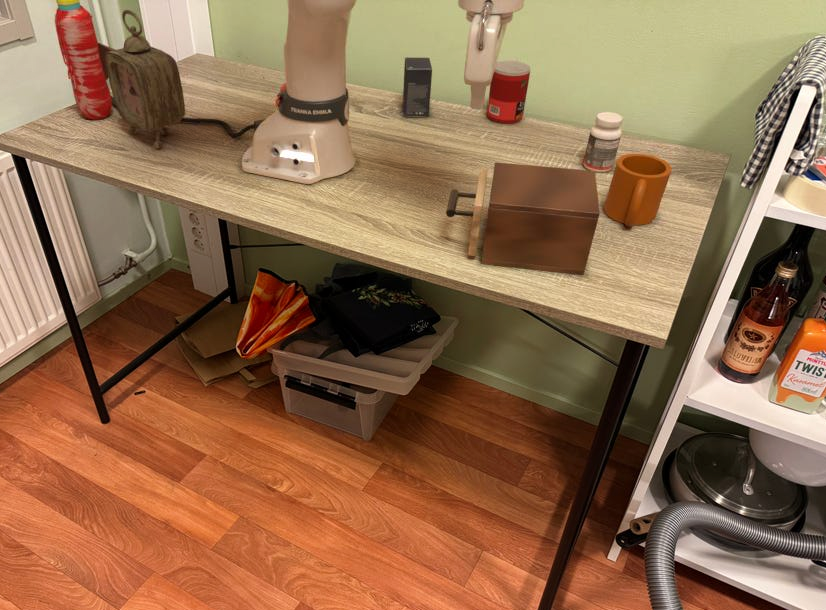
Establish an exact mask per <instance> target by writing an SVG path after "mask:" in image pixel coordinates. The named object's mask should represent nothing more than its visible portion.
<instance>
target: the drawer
mask: <svg viewBox="0 0 826 610" xmlns="http://www.w3.org/2000/svg"><path fill="white" fill-rule="evenodd" d="M488 170H489V169H488V168H483V167H482V168H480V169H479V175H478V181H477V186H476V193H472V192H462V191H459V189H456V188H453V189H451V191H450V193H449V199H448V202H447V207H446V212H445V215H446V217H448V218H453V217H455V216H461V217H471V218H472V222H471V228H470V229H471V230H470V237H469V244H468V245H469V246H468V253H467V254H468V256H471V257H476V256H477V251H478V243H479V235H480V229H481V222H482V215H483V209H484V208H483V207H484V199H485V192H486V186H487V185H486V184H487V178H488ZM459 198H466V199H474V205H473V211H470V210H469V211H468V210H460V209H459V210H458V209H457V206H458V201H459Z"/></svg>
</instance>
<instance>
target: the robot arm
mask: <svg viewBox="0 0 826 610" xmlns="http://www.w3.org/2000/svg"><path fill="white" fill-rule="evenodd" d="M286 2H287V9H288V10H287V12H288V13H287V15H288V16H287V27H286V28H287V29H286V30H287V31H286V38H285V42H284V44H283V58H284V73H285V83H283V84H282V86H281V87H280V89H279V92H278V93H277V95H276V99H275V101H274V102H275V107H276V108H277V110H275V111H274V112H273V113H272V114H271V115H269V116H268V117H266V118H263V119H258V120H253V122H252V123H251V124H248V125H246V126H244V127H243V128H242V129H240V130H239V131H238V132H234V131H233V128H232V127H231V125H230V124H229V123H228V122H227V121H225V120H222V119H217V118H201V117H200V118H198V117H197V118H196V117H183V118H182V120H181V121H180V122H179V123H188V124H189V123H192V124H215V125H220V126H223V127H225V129H226V130H227V132H228V134H229V135H230V136H231V137H232V138H240V137H242V136H243V135H245V134H246V133H247V132H248V131H250V130H254V131H253V132H254V134H253V136H252V141H251V145H250V146H249V147H248V148H247V150H246V151H245V152H244V153H243V155H242V158H241V169H242V171H243V172H246V173H250V174H255V175H259V176H264V177H268V178H269V177H270V178H274V179H280V180H284V181H291V182H293V183H300V184H304V185H305V184H306V185H312V184H315V183H318V182H319V181H320V182H321V181H322V180H325V179H331V178H335V177H339V176H341V175H343V174H345V173H347V172H349V171H350V170H352V169H353V168H354V166H355V165H356V157H355V155H354V152H353V147H352V143H351V137H350V131H349V120H350V98H349V89H348V88H347V61H346V59H347V57H346V56H347V55H346V52H347V40H348V34H349V27H350V22H351V17H352V10H353V9H354V7H355V6H356V2H357V0H286ZM524 5H525V0H458V1H457V6H458V7H459V8H460V9H461V10H464V11H466V14H465V19H466V20H467V21H468V22H470V27H469V32H468V38H467V46H466V54H465V62H464V73H463V82H464V84H465V85H467V86H470V105H469V107H470V108H471V109H472V110H478V111H479V110H482V109H483V108H484V105H485V96H486V90H487V87H490V84H491V81H492V77H493V73H494V70H495V66H496V63H497V62H498V58H499V56H500V51H501V47H502V44H503V41H504V37H505V34H506V30H507V25H508V24H509V23H510V22H512V21H513V19H514V17H513V16H514V13H516V12H519V11H521V10H522V9H524ZM111 99H112V106H113V107H115V108H116V109H117V107H116V104H115V101H114V97H113V95H111Z"/></svg>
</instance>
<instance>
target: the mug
mask: <svg viewBox="0 0 826 610" xmlns="http://www.w3.org/2000/svg"><path fill="white" fill-rule="evenodd" d="M672 169H673V168H672V166H671V165H670V163H668V162H667V161H665V160H664V159H662V158H660V157H658V156H654V155H651V154H644V153H627V154H624V155H620V156H619V157H618V158H617V160H616V163H615V167H614V170H613V173H612V177H611V180H610V185H609V187H608V191H607V195H606V198H605V203H604V205H603V212H604V214H605V215H606V216H607V217H609V218H610V219H612V220H614V221H615V222H618V223H621V224H625V226H626V227H630V228H631V227H632V226H643V225H648V224H650V223H652V222H653V221H654V220H656V218H657V214H658V212H659V208H660V205H661V203H662V200H663V197H664V194H665V191H666V187H667V186H668V182H669V180H670V176H671V174H672Z"/></svg>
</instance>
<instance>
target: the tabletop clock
mask: <svg viewBox="0 0 826 610" xmlns="http://www.w3.org/2000/svg"><path fill="white" fill-rule="evenodd" d="M127 14H128V15H129V16H132V17H133V18H134V19H135V21H136V22H137V24H138V26H139V27H138V28H139V30H138V31H137V27H136V26H135V25H132V26H129V25H128V24H127V22H126V15H127ZM121 17H122V18H121V19H122V23H123V25H124V27H125V28H126V30H127V31H128V32H129V33H130V34H131V35H130V36H128V37H126V38H125V40H124V41H123V47H122V48H119V49H115V50H114V51H110V52H106V53H105V61H106V68H107V72H108V77H109V78H108V81H109V86H110V89H111V93H112V97H113V99H114V101H115V104H116V107H117V108H116V107H115V108H116V109H117V112H118V115H119V116H120V117H121V118H122V120H124V121H125V122H126V123H127V124H128V125H130V126H129V127H128V132H129V133H130V134H136V133H137V131H140V132H143V133H144V134H145V133H150V132H153V131H154V133H155V141H154V143H153V147H154V148H155V149H157V150H161V149H162V148H163V144H162V142H161V141H160V134H161V135H162V136H167V135H168V134H169V129H168V128H167V127H168V126H171V125H172V126H173V125H175V124H178V123H181V122H180V121H181V120H182V118H185V116H186V104H185V98H184V91H183V86H182V80H181V75H180V69H179V67H178V64H177V61H176V59H175V58H174V57H173V56H172V55H170V54H169V53H167V52H165V51H163V50H162V49H158V48H157V47H153V46H151V45H150V42H149V41H148V40H147V38H145V36H143V35H142V33H143V26H142V22H141V20H140V18H139V16H138V15H137V14H136V13H135V12H133V11H132V10H130V9H124V10H123V11H122V14H121Z"/></svg>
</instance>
